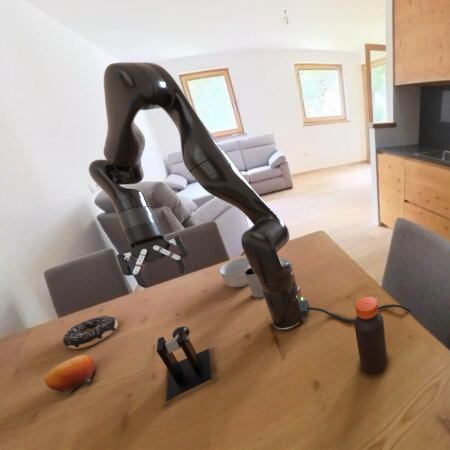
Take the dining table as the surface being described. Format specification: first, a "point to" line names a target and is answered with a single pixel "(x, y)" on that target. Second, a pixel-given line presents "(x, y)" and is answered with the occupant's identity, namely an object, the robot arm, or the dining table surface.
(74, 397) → the dining table surface
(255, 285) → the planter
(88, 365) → the fruit
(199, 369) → the bracket
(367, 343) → the bottle
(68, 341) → the donut
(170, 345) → the lever
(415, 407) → the dining table surface
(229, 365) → the dining table surface
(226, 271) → the teacup
